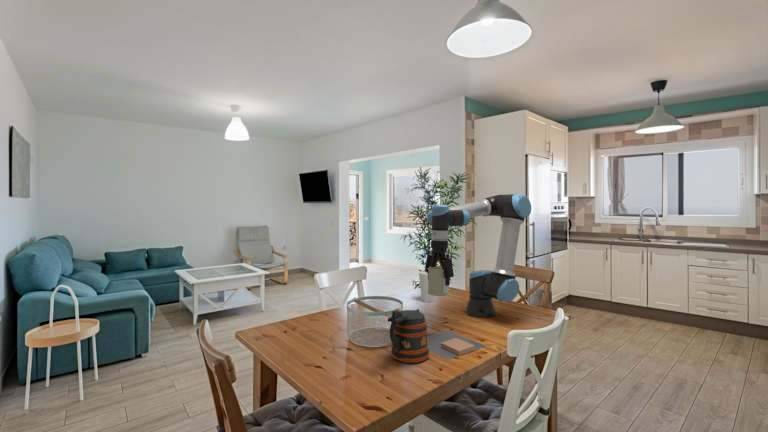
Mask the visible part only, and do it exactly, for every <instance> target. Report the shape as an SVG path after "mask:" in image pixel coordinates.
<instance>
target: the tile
mask: <svg viewBox="0 0 768 432" xmlns="http://www.w3.org/2000/svg"><path fill="white" fill-rule="evenodd" d="M441 347H442V348H444V349H446V350H448V351H450V352H452V353H455V354H457V355H459V356H458V357H460V356H463V355H466V354H468V352H469V353H471V351H472V352H474V351H476V350H475V345H472V344H470V343H468V342H465V341H463V340H460V339H458V338H454V339H451V340H448V341H445V342H442V343H441ZM465 353H466V354H465Z"/></svg>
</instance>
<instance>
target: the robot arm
mask: <svg viewBox="0 0 768 432" xmlns="http://www.w3.org/2000/svg"><path fill="white" fill-rule="evenodd" d="M531 213H532V203H531V201H530V199H529V198H528V197H527V195H525V194H522V193H521V194H519V193H515V194H513V193H512V194H510V193H509V194H496V195H493V196H489V197H484V198H481V199H479V200H478V201H475V202H470V203H464V204H459V205H455V206H450V207H449V205H447V204H446V205H443V204H435V205H433V206H432V207H431V210H429V211H428V213H427V216H426V219H427V223H429V224H431V225H430V227H431V228H430V229H431V231H430V232H431V235H430V239H431V240H430V249H431V250H427V251H426V261H425V266H424V271H425V272H427V273H428V276H429V267H435V266H437V263H438V262H439V264H440V266H442V270H444V271H443V273H444V276H445V277H444V278H443V293H449V289H450V288H449V287H450V285H451V281H450V280H451V278H454V276H455V274H454V268H453V254H452V253H448V252H447V251H448V249H449V241H448V240H449V227H466V226H468V225H469V224H470V222H471V218H472V219H473V218H475V217H481V216H482V217H490V216H491V217H500V218H499V219H500V220H501V221H502V224H501V233H500V237H499V245H498V250H497V256H496V262H495V263H496V264H495V268H494V269H493V270H491V269H490V270H489V269H488V270H487V269H483V270H482V269H481V270H479V269H478V270H474V271H473V270H472V271H470V273H469V278H468V279H469V299H468V301H467V305H466V308H465V313H466V314H467V315H469V316H471V317H475V318H484V319H486V318H492V317H494V316H496V308H495V306H494V302H493V299H495V300H498V301H500V302H506V303H507V302H512V301H513V300H514V299H516V298H517V296H518V294H519V291H520V284H519V281H518V280H516V278H517V277H516V274H515V273H514V269H515V264H516V263H515V262H516V255H517V251H518V250H517V248H518V242H519V236H520V229H521V225H522V224H524V222H525V219H526V218H528V217H529V216H530V215H531Z"/></svg>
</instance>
